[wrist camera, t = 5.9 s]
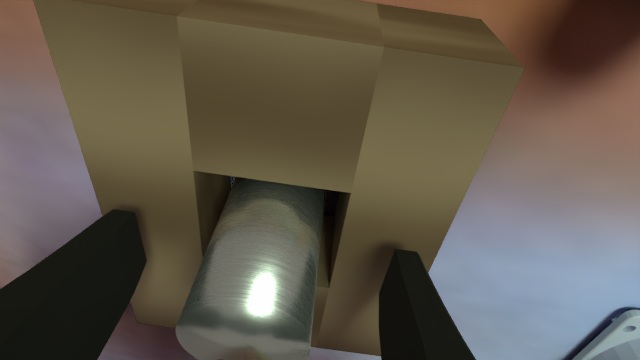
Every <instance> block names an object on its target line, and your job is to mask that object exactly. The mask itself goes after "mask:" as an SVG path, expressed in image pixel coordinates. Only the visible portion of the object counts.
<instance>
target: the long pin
mask: <svg viewBox="0 0 640 360" xmlns="http://www.w3.org/2000/svg"><path fill="white" fill-rule="evenodd" d="M325 190H326V189H319V188H312V187H305V186H298V185H291V184H283V183H276V182H269V181H262V180H255V179H248V178H241V177H236V179H235V181H234V184H233V186H232V188H231V191H230V193H229V196H228V198H227V201H226V203H225V206H224V208H223V211H222V213H221V216H220V218H219V221H218V223H217V226H216V228H215V231H214V233H213V235H212V238H211V240H210V243H209V245H208V248H207V250H206V253H205V255H204V258H203V260H202V263H201V265H200V268H199V270H198V273H197V275H196V278H195V280H194V283H193V285H192V287H191V290H190V292H189V295H188V297H187V300H186V302H185V305H184V307H183V310H182V312H181V315H180V317H179V320H178V322H177V325H176V336H177V339H178V341H179V343H180V344H181V346H182V347H183V348H184V349H185V350H186V351H187V352H188V353H189V354H191V355H192V356H193V357H195V358H196V359H198V360H306V359H307V358H308V356H309V353H310V344H311V334H312V324H313V313H314V303H315V293H316V282H317V272H318V262H319V252H320V241H321V231H322V221H323V210H324V200H325Z"/></svg>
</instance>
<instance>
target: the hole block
mask: <svg viewBox="0 0 640 360" xmlns="http://www.w3.org/2000/svg"><path fill="white" fill-rule="evenodd" d="M33 1H34V4H35V7H36V11H37V14H38V17H39V20H40V23H41V26H42V29H43V32H44V35H45V39H46V42H47V45H48V48H49V51H50V54H51V57H52V60H53V63H54V66H55V70H56V73H57V76H58V79H59V82H60V85H61V88H62V91H63V94H64V97H65V101H66V104H67V107H68V110H69V113H70V116H71V119H72V122H73V125H74V129H75V132H76V135H77V138H78V141H79V144H80V147H81V150H82V153H83V156H84V160H85V163H86V166H87V169H88V172H89V175H90V178H91V181H92V184H93V187H94V191H95V194H96V197H97V200H98V203H99V206H100V209H101V212H102V215H103V216H104V215H105V214H107V213H108V212H110V211H111V210H112V209H116V210H123V211H130V212H135V214H136V218H137V222H138V226H139V230H140V234H141V238H142V242H143V246H144V250H145V254H146V259H147V262H146V265H145V267H144V270H143V273H142V275H141V278H140V280H139V282H138V285H137V287H136V290H135V292H134V294H133V296H132V298H131V300H130V302H131V305H132V309H133V312H134V315H135V318H136V321H137V323H140V324H147V325H154V326H162V327H169V328H176V325H177V322H178V320H179V317H180V315H181V312H182V310H183V307H184V305H185V302H186V300H187V297H188V295H189V292H190V290H191V287H192V285H193V283H194V280H195V278H196V275H197V273H198V270H199V268H200V265H201V263H202V260H203V258H204V255H205V253H206V250H207V248H208V245H209V243H210V240H211V238H212V235H213V233H214V231H215V228H216V226H217V223H218V221H219V218H220V216H221V213H222V211H223V208H224V206H225V203H226V201H227V198H228V196H229V193H230V191H231V181H230V176H234V177H241V178H248V179H255V180H262V181H269V182H276V183H283V184H291V185H298V186H305V187H312V188H319V189H326V190H333V191H339V194H338V199H337V204H336V209H335V214H334V216H331V215H324V214H323V221H322V231H321V241H320V252H319V262H318V272H317V282H316V293H315V303H314V313H313V324H312V334H311V344H310V347H317V348H324V349H332V350H339V351H346V352H354V353H361V354H369V355H376V356H381V349H380V338H379V292H380V289H381V286H382V283H383V281H384V278H385V275H386V272H387V270H388V267H389V264H390V261H391V259H392V256H393V253H394V251H395V249H401V250H408V251H415V252H418V254H419V255H420V257H421V259H422V261H423V264H424V266H425V268H426V270H427V272H429V270H430V268H431V266H432V263H433V261H434V259H435V257H436V255H437V253H438V251H439V249H440V247H441V245H442V242H443V240H444V238H445V236H446V234H447V232H448V230H449V228H450V226H451V223H452V221H453V219H454V217H455V215H456V213H457V211H458V209H459V207H460V204H461V202H462V200H463V198H464V196H465V194H466V192H467V190H468V188H469V185H470V183H471V181H472V179H473V177H474V175H475V173H476V171H477V169H478V166H479V164H480V162H481V160H482V158H483V156H484V154H485V152H486V150H487V147H488V145H489V143H490V141H491V139H492V137H493V135H494V133H495V131H496V129H497V126H498V124H499V122H500V120H501V118H502V116H503V114H504V112H505V110H506V107H507V105H508V103H509V101H510V99H511V97H512V95H513V93H514V91H515V88H516V86H517V84H518V82H519V80H520V78H521V76H522V74H523V72H524V69H525V68H524V66H523V65H522V64H521V63H520V62H519V61H518V60H517V59H516V58H515V56H514V55H513V54H512V53H511V52H510V51H509V50H508V49H507V48H506V47H505V45H504V44H503V43H502V42H501V41H500V40H499V39H498V38H497V37H496V36H495V34H494V33H493V32H492V31H491V30H490V29H489V28H488V27H487V26H486V25H485V23H484V22H483V21H482V20H481V19H475V18H469V17H462V16H455V15H449V14H442V13H435V12H429V11H422V10H416V9H409V8H402V7H396V6H389V5H383V4H376V3H369V2H363V1H356V0H33Z"/></svg>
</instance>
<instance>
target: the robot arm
mask: <svg viewBox="0 0 640 360" xmlns="http://www.w3.org/2000/svg"><path fill="white" fill-rule="evenodd" d="M146 262H147V259H146V254H145V250H144V246H143V242H142V238H141V234H140V230H139V226H138V222H137V218H136V214H135V212H130V211H123V210H116V209H112V210H111V211H110V212H108V213H107V214H105V215H104V216H103V217H101V218H100V219H99V220H97V221H96V222H94V223H93V224H92V225H90V226H89V227H88V228H86V229H85V230H84V231H82V232H81V233H80V234H78V235H77V236H76V237H74V238H73V239H71V240H70V241H69V242H67V243H66V244H65V245H63V246H62V247H61V248H59V249H58V250H56V251H55V252H54V253H52V254H51V255H49V256H48V257H47V258H45V259H44V260H42V261H41V262H40V263H38V264H37V265H35V266H34V267H33V268H31V269H30V270H28V271H27V272H25V273H24V274H22V275H21V276H19V277H18V278H16V279H15V280H13V281H12V282H10V283H9V284H7V285H6V286H4V287H3V288H1V289H0V360H97V359H98V357H99V355H100V354H101V352H102V350H103V348H104V346H105V345H106V343H107V341H108V339H109V338H110V336H111V334H112V332H113V331H114V329H115V327H116V325H117V323H118V322H119V320H120V318H121V316H122V314H123V313H124V311H125V309H126V307H127V305H128V304H129V302H130V300H131V298H132V296H133V294H134V292H135V290H136V287H137V285H138V282H139V280H140V278H141V275H142V273H143V270H144V267H145V265H146ZM379 338H380V349H381V359H382V360H476V359H475V357H474V356H473V354H472V352H471V351H470V349H469V348H468V346H467V344H466V343H465V341H464V339H463V338H462V336H461V334H460V333H459V331H458V329H457V327H456V325H455V324H454V322H453V320H452V318H451V316H450V315H449V313H448V311H447V309H446V307H445V306H444V304H443V302H442V300H441V298H440V296H439V294H438V292H437V290H436V288H435V286H434V284H433V282H432V280H431V278H430V276H429V274H428V272H427V270H426V268H425V266H424V264H423V261H422V259H421V257H420V255H419V254H418V252H415V251H408V250H401V249H395V251H394V253H393V256H392V259H391V261H390V264H389V267H388V270H387V272H386V275H385V278H384V281H383V283H382V286H381V289H380V292H379ZM572 360H640V310H628V311H626V312H624V313H622V314H621V315H620V316H619V317H618V318H617V319H616V320H614V321H613V322H612V323H611V324H610V325H609V326H608V327H607V328H606V329H605V330H604V331H602V332H601V333H600V334H599V335H598V336H597V337H596V338H595V339H594V340H593V341H592V342H590V343H589V344H588V345H587V346H586V347H585V348H584V349H583V350H582V351H581V352H580V353H578V354H577V355H576V356H575V357H574V358H573V359H572Z"/></svg>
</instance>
